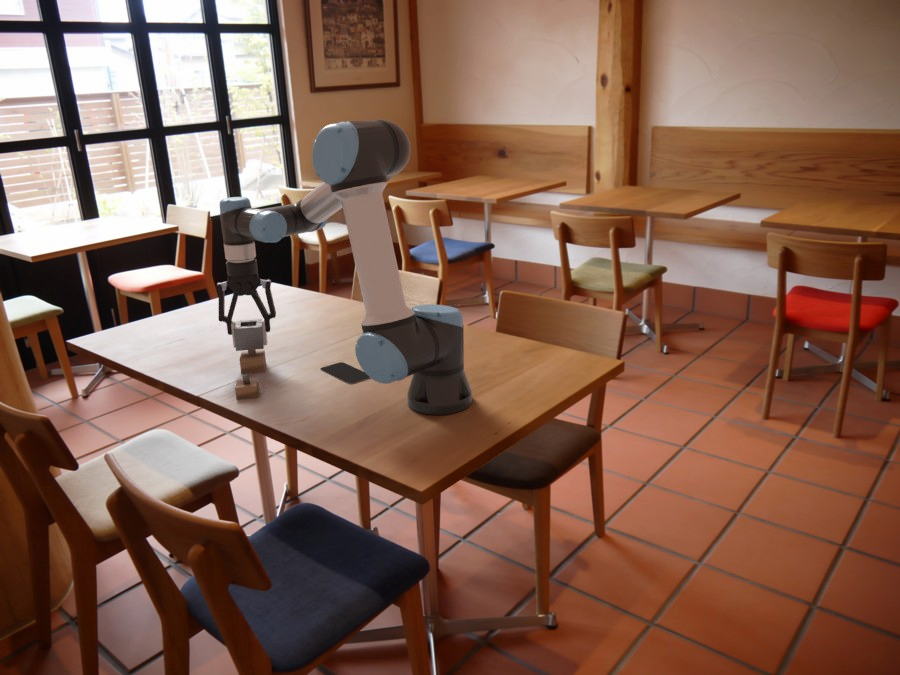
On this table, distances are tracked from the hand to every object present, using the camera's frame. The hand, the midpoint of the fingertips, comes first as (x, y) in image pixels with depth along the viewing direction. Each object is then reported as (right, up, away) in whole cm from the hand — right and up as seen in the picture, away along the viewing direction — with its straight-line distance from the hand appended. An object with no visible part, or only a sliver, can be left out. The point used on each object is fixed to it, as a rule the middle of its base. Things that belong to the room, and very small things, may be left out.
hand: (250, 344), depth 196 cm
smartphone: (+25, -8, -2) cm, 27 cm away
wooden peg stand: (0, -6, +2) cm, 7 cm away
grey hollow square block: (0, 0, 0) cm, 0 cm away
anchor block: (+3, -12, -15) cm, 19 cm away
